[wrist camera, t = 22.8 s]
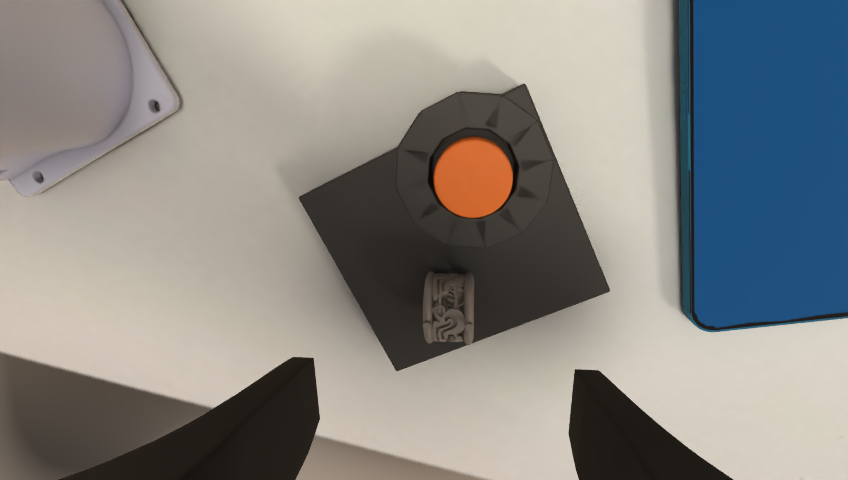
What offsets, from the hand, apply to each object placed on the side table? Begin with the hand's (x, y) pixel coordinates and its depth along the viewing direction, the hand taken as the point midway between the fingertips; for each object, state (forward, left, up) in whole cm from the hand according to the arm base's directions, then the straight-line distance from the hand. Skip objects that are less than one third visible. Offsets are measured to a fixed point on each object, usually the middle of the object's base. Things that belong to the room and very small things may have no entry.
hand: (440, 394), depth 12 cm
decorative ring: (0, 0, -7) cm, 7 cm away
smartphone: (+14, 0, -8) cm, 16 cm away
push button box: (+1, +2, -8) cm, 9 cm away
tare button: (+3, +4, -6) cm, 8 cm away
